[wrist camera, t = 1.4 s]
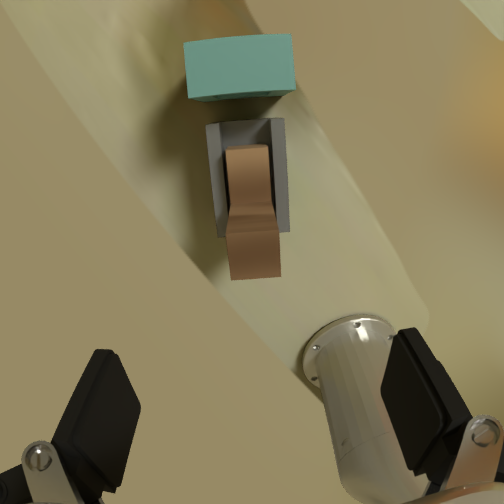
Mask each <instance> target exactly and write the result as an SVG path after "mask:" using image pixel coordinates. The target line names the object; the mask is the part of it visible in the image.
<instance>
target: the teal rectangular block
mask: <svg viewBox="0 0 504 504" xmlns="http://www.w3.org/2000/svg"><path fill="white" fill-rule="evenodd" d="M184 54H185V67H186V79H187V90H188V98H189V99H193V100H197V101H201V102H210V101H219V100H229V99H240V98H253V97H269V96H284V95H286V94H288V93H290V92H292V91H294V90H296V85H295V72H294V62H293V50H292V38H291V34H265V35H247V36H235V37H224V38H215V39H207V40H199V41H192V42H186V43H184Z"/></svg>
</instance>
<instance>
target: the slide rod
mask: <svg viewBox="0 0 504 504" xmlns="http://www.w3.org/2000/svg"><path fill="white" fill-rule="evenodd" d="M226 161H227V172H228V182H229V192H230V202H231V206H230V211H229V217H228V223H227V229H226V242H227V250H228V259H229V267H230V275H231V280H244V279H258V278H271V277H281V263H280V241H279V228H278V224H277V220H276V216H275V213H274V209H273V205H272V201H271V185H270V169H269V154H268V146H267V145H266V143H265V144H251V145H238V146H228V147H227V149H226Z"/></svg>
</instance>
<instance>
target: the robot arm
mask: <svg viewBox="0 0 504 504" xmlns="http://www.w3.org/2000/svg"><path fill="white" fill-rule="evenodd" d="M302 365H303V370H304V374H305V376H306V378H307V379H308V380H309V381H310V382H311V383H312V384H313V385H315V386H316V387H318V388H320V389H321V394H322V398H323V403H324V407H325V411H326V416H327V421H328V425H329V430H330V434H331V439H332V444H333V449H334V454H335V458H336V463H337V468H338V472H339V477H340V481H341V484H342V486H343V488H344V489H345V490H346V492H347V493H348V494H349V495H350V496H352V497H353V498H354V499H356V500H358V501H359V502H361V503H363V504H504V430H503V426H502V425H501V423H500V422H499V421H498V420H497V419H496V418H494V417H492V416H490V415H478V416H476V417H474V418H473V417H472V415H471V413H470V412H469V410H468V408H467V406H466V404H465V402H464V401H463V399H462V397H461V395H460V394H459V392H458V390H457V389H456V387H455V385H454V383H453V382H452V380H451V378H450V377H449V375H448V374H447V372H446V370H445V368H444V367H443V366H442V364H441V363H440V361H438V360H436V358H435V356H434V355H433V353H432V352H431V350H430V348H429V347H428V345H427V344H426V342H425V341H424V339H423V337H422V336H421V334H420V333H419V331H418V330H417V329H416V328H415V327H413V328H408V329H402V330H399V331H398V334H397V335H396V333H395V331H394V330H393V328H392V326H391V325H390V324H389V323H388V322H387V321H385V320H383V319H382V318H380V317H376V316H373V315H353V316H349V317H345V318H342V319H339V320H337V321H334V322H332V323H331V324H329V325H327V326H325V327H324V328H323V329H321V330H320V331H319V332H317V333H316V334H315V336H314V337H313V338H312V339H311V340H310V341H309V343H308V344H307V346H306V348H305V350H304V353H303V358H302ZM140 410H141V405H140V402H139V400H138V398H137V396H136V394H135V391H134V389H133V387H132V385H131V383H130V381H129V379H128V376H127V374H126V372H125V370H124V367H123V366H122V363H121V361H120V358H119V356H118V355H117V354H115V353H114V352H113V351H112V350H109V349H96V350H95V351H94V353H93V355H92V357H91V359H90V361H89V363H88V364H87V366H86V368H85V370H84V372H83V374H82V376H81V378H80V380H79V382H78V384H77V386H76V388H75V390H74V392H73V394H72V397H71V399H70V401H69V403H68V405H67V407H66V409H65V411H64V414H63V416H62V418H61V420H60V422H59V425H58V427H57V429H56V431H55V433H54V436H53V438H52V441H51V443H49V442H46V441H36V442H33V443H31V444H30V445H28V446H27V447H26V449H25V450H24V452H23V454H22V459H21V460H22V464H20V465H18V466H16V467H14V468H12V469H10V470H7V471H5V472H3V473H1V474H0V504H104V502H103V500H102V498H101V496H102V492H103V491H106V492H111V493H115V492H116V488H117V487H119V486H120V485H121V483H122V479H123V475H124V471H125V467H126V463H127V459H128V455H129V452H130V448H131V444H132V440H133V437H134V433H135V429H136V426H137V422H138V419H139V415H140Z"/></svg>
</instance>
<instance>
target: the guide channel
mask: <svg viewBox="0 0 504 504" xmlns="http://www.w3.org/2000/svg"><path fill="white" fill-rule="evenodd" d="M205 127H206V137H207V147H208V156H209V166H210V175H211V184H212V193H213V201H214V210H215V218H216V226H217V235H218V237H226V229H227V223H228V217H229V211H230V206H231V202H230V192H229V182H228V172H227V161H226V149H227V147H228V146H238V145H251V144H265V143H266V145H267V146H268V154H269V169H270V185H271V201H272V205H273V209H274V213H275V216H276V220H277V224H278V228H279V233H281V232H290V222H289V197H288V176H287V157H286V139H285V124H284V118H262V119H247V120H235V121H225V122H215V123H210V124H206V125H205Z"/></svg>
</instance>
